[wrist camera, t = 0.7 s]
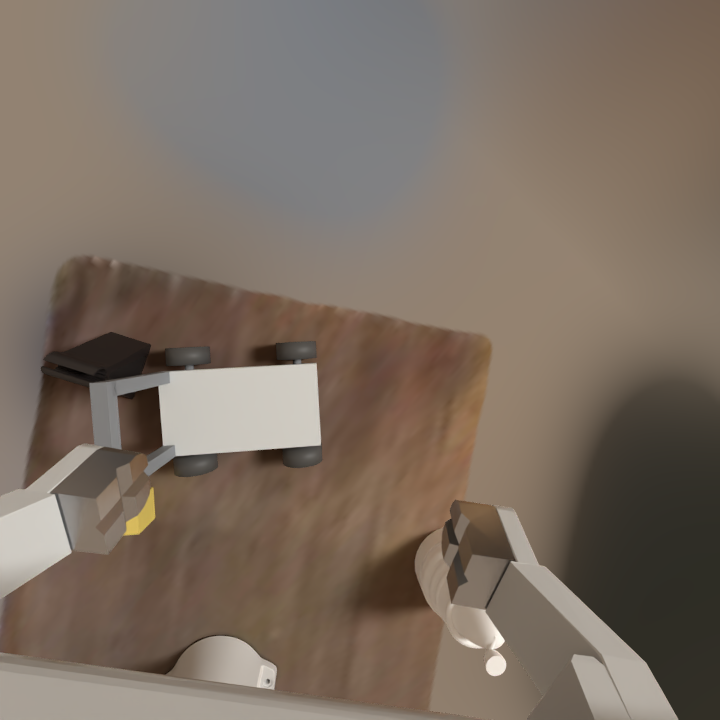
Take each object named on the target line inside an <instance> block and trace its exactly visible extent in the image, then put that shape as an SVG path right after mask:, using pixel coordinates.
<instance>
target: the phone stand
mask: <svg viewBox="0 0 720 720" xmlns="http://www.w3.org/2000/svg"><path fill="white" fill-rule="evenodd" d="M150 347H151V345H150V344H147V343H144V342H141V341H138V340H135V339H132V338H128V337H125V336H122V335H119V334H116V333H113V332H110V333H108V334H105V335H103V336H101V337H98V338H96V339H94V340H91V341H89V342H86V343H84V344H82V345H79V346H77V347H75V348H72V349H70V350H68V351H65V352H51V353H49V354H48V355H47V356H46V357H45V358H44V360H45V361H48V362H51V363H55V364H58V367H56V369H54V370H53V369H50V368H47V367H44V366H42V367H41V371H42V372H43V373H44V374H47V375H50V376H53V377H56V378H60V379H63V380H66V381H69V382H73V383H76V384H79V385H82V386H86V387H89V388H90V386H89V383H94V382H100V381H106V380H113V379H119V378H125V377H131V376H137V375H141V374H142V371H143V368H144V365H145V362H146V359H147V356H148V353H149V350H150ZM135 392H136V391H135ZM135 392H131V393H127V394H123V395H120V396H123V397H126V398H129V399H133V397H134V395H135Z"/></svg>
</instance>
